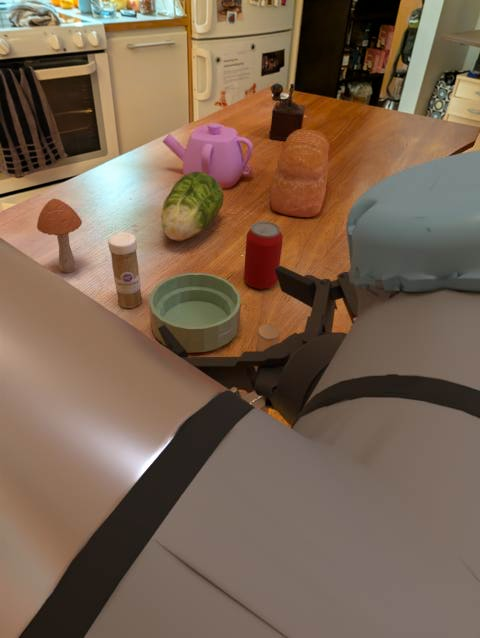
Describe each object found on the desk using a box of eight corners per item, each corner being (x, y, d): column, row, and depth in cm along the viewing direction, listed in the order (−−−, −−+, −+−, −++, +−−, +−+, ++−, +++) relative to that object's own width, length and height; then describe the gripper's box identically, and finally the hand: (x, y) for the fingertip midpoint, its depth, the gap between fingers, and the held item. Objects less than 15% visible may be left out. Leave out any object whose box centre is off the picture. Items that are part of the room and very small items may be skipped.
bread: (266, 214, 114) (271, 153, 104) (280, 173, 134) (286, 119, 124) (320, 222, 112) (331, 161, 102) (327, 179, 132) (337, 125, 122)
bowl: (149, 357, 74) (146, 329, 71) (154, 299, 86) (152, 272, 82) (242, 355, 76) (244, 327, 72) (235, 298, 87) (236, 272, 84)
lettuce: (148, 249, 99) (144, 200, 92) (181, 207, 114) (180, 163, 107) (199, 258, 97) (199, 210, 90) (226, 215, 113) (227, 170, 105)
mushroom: (79, 253, 96) (65, 185, 87) (97, 271, 92) (84, 201, 82) (42, 265, 92) (23, 196, 83) (58, 284, 88) (40, 213, 78)
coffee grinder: (271, 129, 163) (276, 73, 151) (302, 132, 162) (309, 76, 150) (264, 144, 151) (269, 84, 140) (298, 148, 150) (306, 88, 138)
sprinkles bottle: (122, 312, 83) (113, 247, 74) (114, 298, 86) (103, 234, 77) (146, 304, 85) (140, 241, 76) (137, 291, 88) (129, 228, 79)
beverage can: (282, 279, 93) (290, 226, 85) (267, 295, 89) (273, 241, 81) (253, 268, 96) (258, 216, 88) (237, 284, 91) (240, 230, 83)
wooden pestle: (241, 453, 62) (251, 345, 49) (238, 426, 65) (247, 318, 52) (273, 451, 62) (291, 344, 49) (269, 425, 65) (285, 318, 52)
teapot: (259, 184, 127) (263, 130, 118) (191, 197, 119) (190, 141, 109) (226, 159, 140) (227, 109, 130) (162, 170, 131) (158, 118, 122)
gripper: (203, 555, 28) (129, 394, 46) (498, 360, 34) (331, 285, 52) (154, 472, 24) (96, 332, 42) (493, 271, 31) (316, 224, 49)
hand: (225, 306), depth 47 cm, fingers open, 13 cm apart
